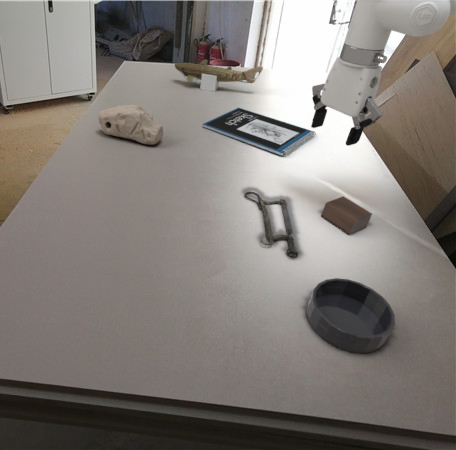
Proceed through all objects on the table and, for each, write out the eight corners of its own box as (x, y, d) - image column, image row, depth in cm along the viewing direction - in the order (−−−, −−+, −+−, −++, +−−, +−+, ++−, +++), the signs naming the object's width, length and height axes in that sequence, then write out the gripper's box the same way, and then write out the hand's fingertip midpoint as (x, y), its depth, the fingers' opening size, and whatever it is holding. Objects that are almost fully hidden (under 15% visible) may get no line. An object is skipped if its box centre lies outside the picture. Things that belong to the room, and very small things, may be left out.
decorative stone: (95, 135, 125) (94, 104, 119) (107, 126, 131) (106, 96, 125) (155, 149, 119) (156, 117, 113) (165, 139, 125) (167, 108, 119)
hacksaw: (298, 260, 82) (299, 254, 82) (247, 254, 83) (248, 248, 83) (285, 196, 102) (286, 191, 101) (243, 192, 102) (245, 187, 102)
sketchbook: (237, 111, 147) (238, 105, 145) (315, 137, 131) (317, 131, 130) (202, 127, 133) (203, 121, 132) (284, 158, 118) (286, 152, 117)
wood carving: (255, 99, 157) (261, 69, 150) (170, 85, 165) (172, 57, 159) (259, 92, 163) (264, 63, 157) (176, 79, 172) (178, 51, 165)
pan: (339, 284, 77) (346, 269, 75) (401, 333, 69) (411, 318, 66) (290, 309, 72) (296, 294, 69) (351, 366, 63) (360, 350, 61)
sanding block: (337, 209, 98) (343, 196, 95) (366, 227, 92) (372, 213, 90) (320, 216, 95) (325, 202, 93) (348, 235, 90) (354, 221, 87)
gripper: (412, 65, 76) (377, 148, 86) (338, 43, 88) (315, 118, 98) (387, 70, 73) (354, 155, 83) (314, 45, 84) (293, 123, 95)
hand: (333, 135), depth 91 cm, fingers open, 9 cm apart
